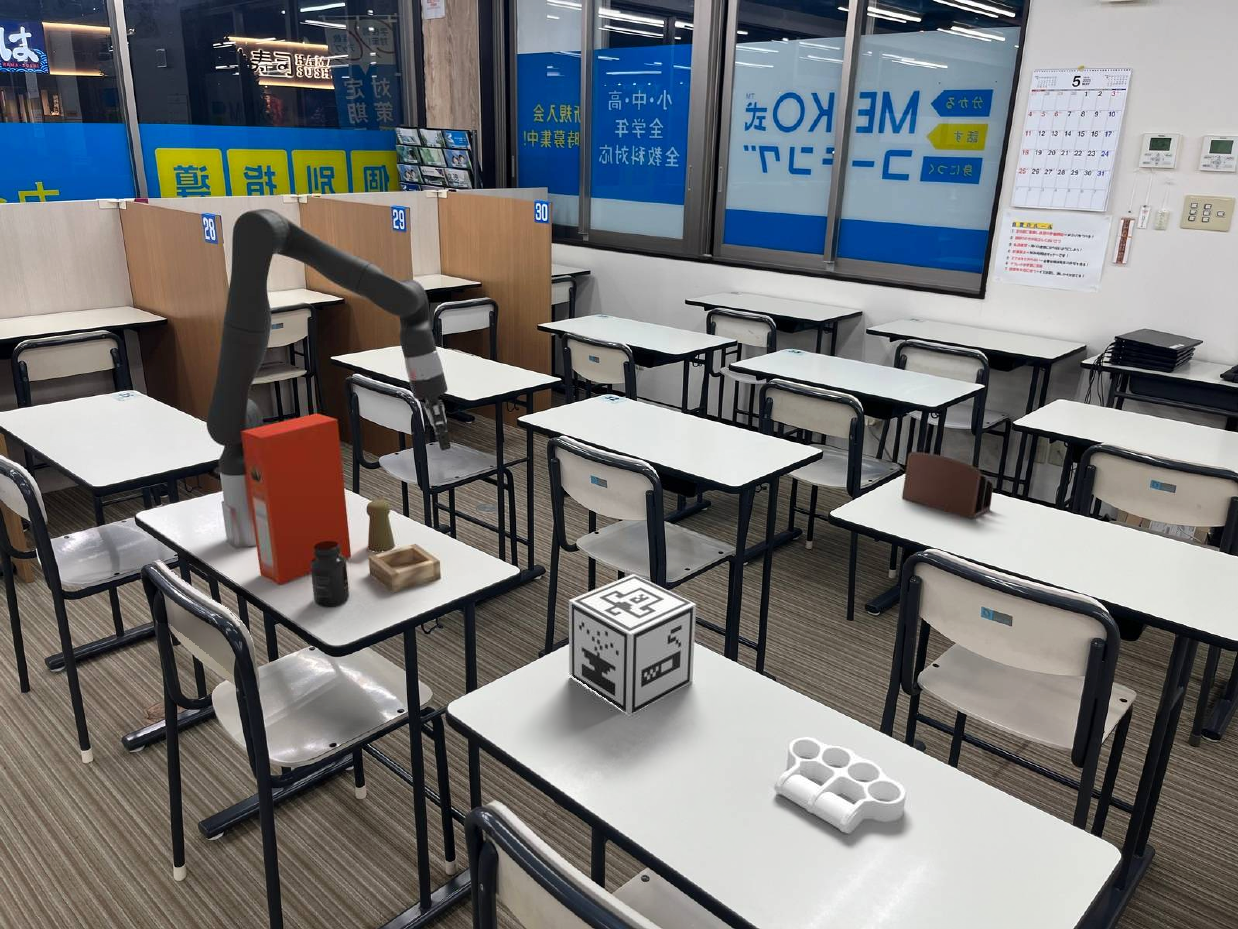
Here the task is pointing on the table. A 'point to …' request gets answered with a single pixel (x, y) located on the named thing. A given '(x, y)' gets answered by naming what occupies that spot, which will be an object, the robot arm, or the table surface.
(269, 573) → the file binder
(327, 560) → the supplement bottle
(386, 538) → the olive knobbed tapered cylinder
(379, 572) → the oak holder
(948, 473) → the letter holder
